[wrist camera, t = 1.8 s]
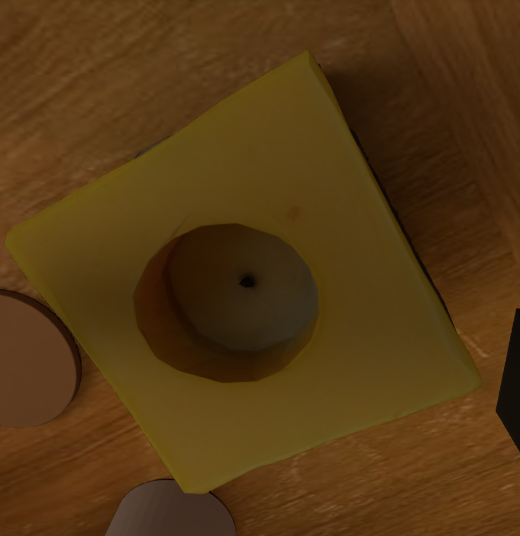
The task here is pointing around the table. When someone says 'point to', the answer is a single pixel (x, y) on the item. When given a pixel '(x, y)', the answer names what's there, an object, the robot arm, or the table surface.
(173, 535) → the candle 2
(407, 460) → the table surface
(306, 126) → the candle
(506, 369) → the robot arm
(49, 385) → the coaster
